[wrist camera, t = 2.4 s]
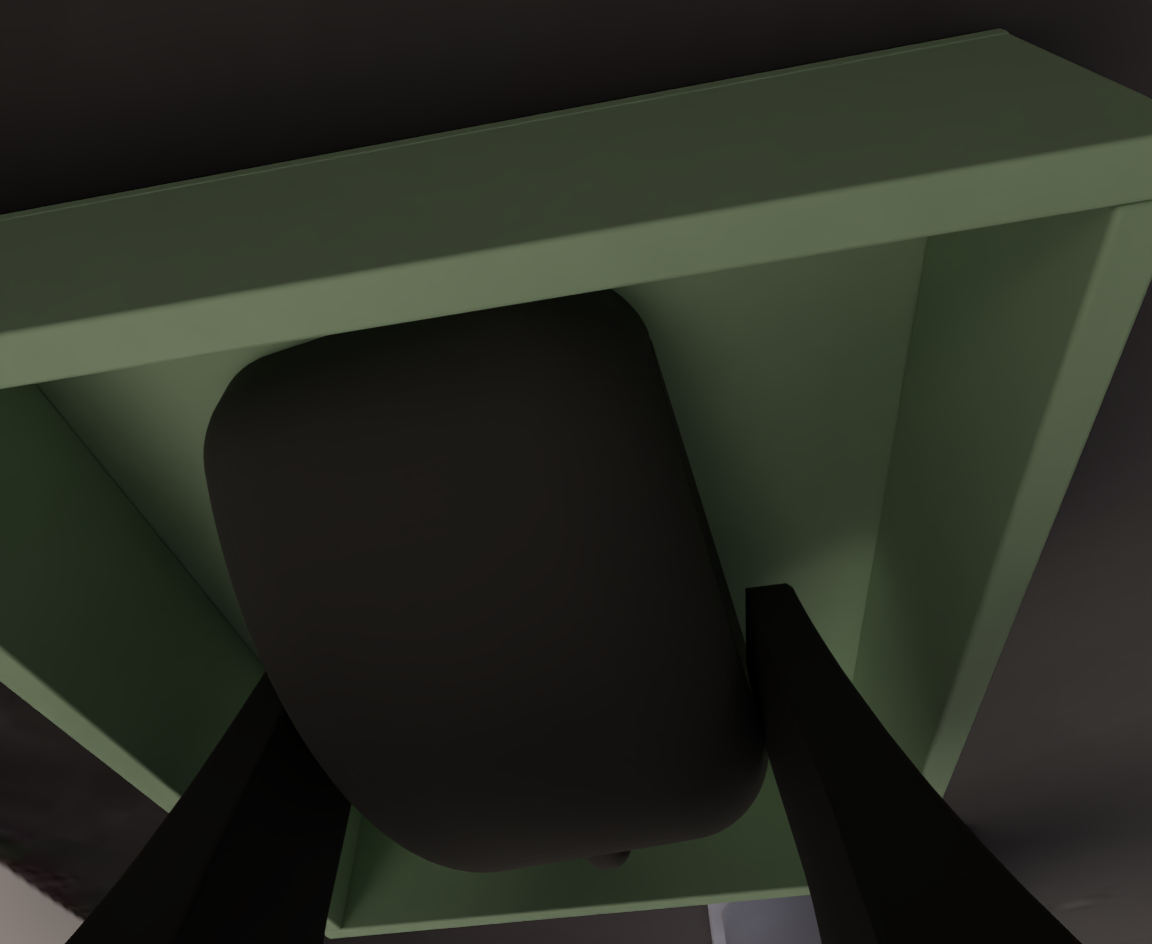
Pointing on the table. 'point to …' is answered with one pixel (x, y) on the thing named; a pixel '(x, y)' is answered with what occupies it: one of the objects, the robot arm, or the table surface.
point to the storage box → (689, 368)
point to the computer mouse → (490, 584)
